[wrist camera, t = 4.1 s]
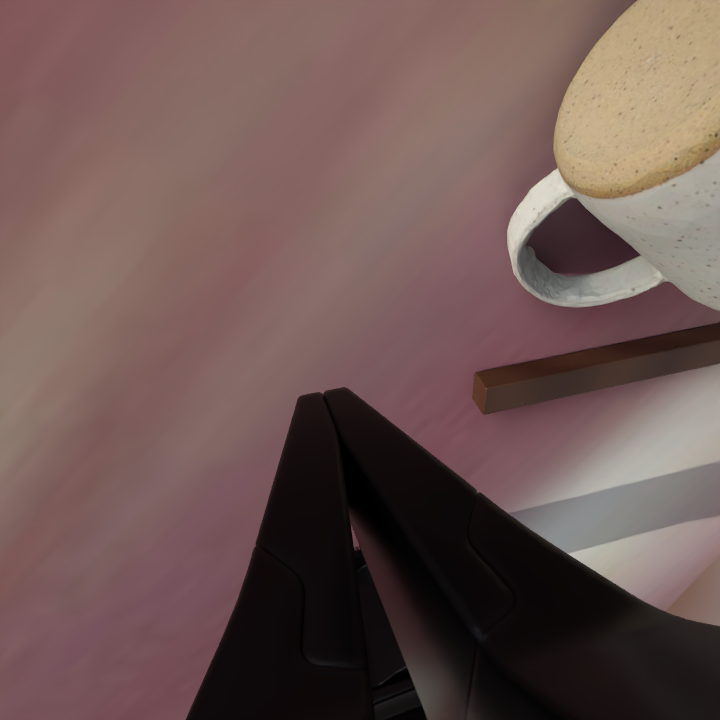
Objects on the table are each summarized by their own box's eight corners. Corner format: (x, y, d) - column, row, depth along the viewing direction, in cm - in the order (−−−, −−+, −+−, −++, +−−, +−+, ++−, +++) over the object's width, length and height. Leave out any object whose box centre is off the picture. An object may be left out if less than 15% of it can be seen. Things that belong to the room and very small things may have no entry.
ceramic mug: (658, -80, 16) (950, -103, 10) (787, 80, 19) (1052, 135, 13) (441, 235, 20) (550, 357, 14) (583, 315, 24) (716, 436, 18)
